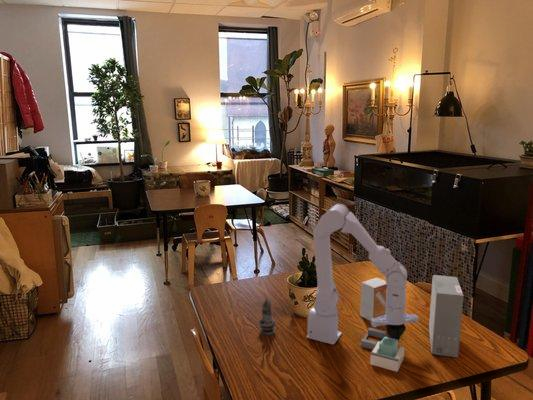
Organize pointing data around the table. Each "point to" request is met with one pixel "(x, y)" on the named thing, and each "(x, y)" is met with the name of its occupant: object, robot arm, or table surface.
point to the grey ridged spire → (266, 319)
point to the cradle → (374, 333)
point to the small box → (373, 298)
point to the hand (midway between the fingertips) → (393, 345)
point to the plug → (388, 347)
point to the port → (387, 359)
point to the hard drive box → (445, 315)
